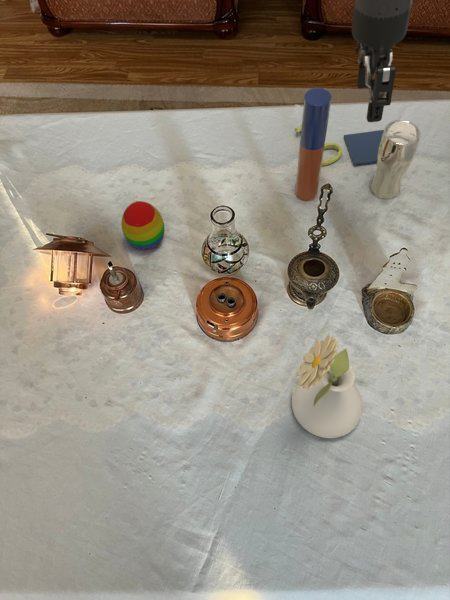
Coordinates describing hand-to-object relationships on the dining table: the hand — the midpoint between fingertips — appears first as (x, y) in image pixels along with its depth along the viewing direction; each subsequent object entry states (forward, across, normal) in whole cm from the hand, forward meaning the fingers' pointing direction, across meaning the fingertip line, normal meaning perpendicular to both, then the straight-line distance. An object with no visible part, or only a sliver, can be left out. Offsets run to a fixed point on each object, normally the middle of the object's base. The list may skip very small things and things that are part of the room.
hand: (368, 103), depth 83 cm
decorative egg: (+25, -2, +42) cm, 49 cm away
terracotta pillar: (+26, +7, +8) cm, 28 cm away
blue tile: (+27, +18, -7) cm, 33 cm away
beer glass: (+27, +7, -8) cm, 29 cm away
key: (+26, +20, +4) cm, 33 cm away
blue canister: (+12, +6, +8) cm, 16 cm away
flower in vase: (+28, -40, +12) cm, 50 cm away
